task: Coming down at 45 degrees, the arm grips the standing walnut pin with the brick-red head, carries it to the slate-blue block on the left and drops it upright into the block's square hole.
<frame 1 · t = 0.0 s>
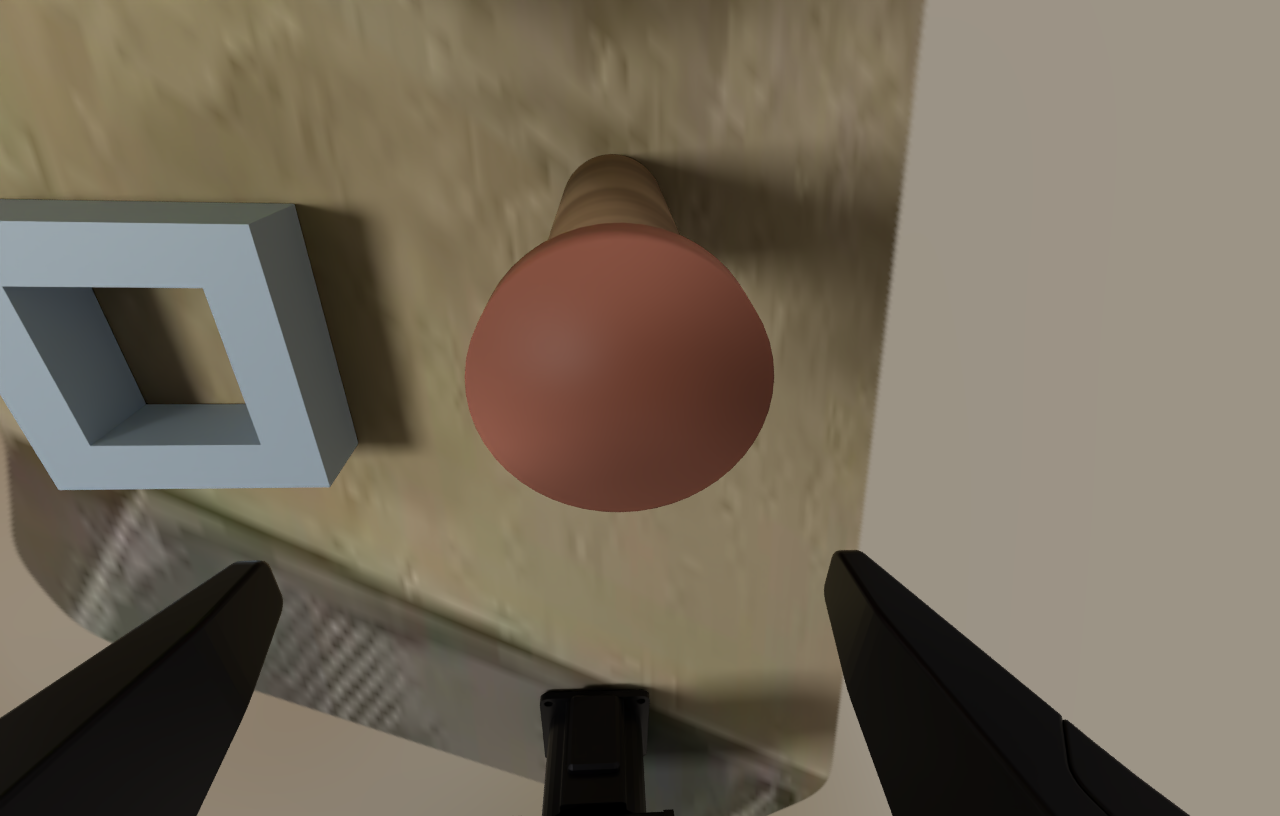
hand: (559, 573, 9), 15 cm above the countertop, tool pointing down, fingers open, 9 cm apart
hole block: (196, 336, 22), on the countertop
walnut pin: (612, 208, 21), on the countertop
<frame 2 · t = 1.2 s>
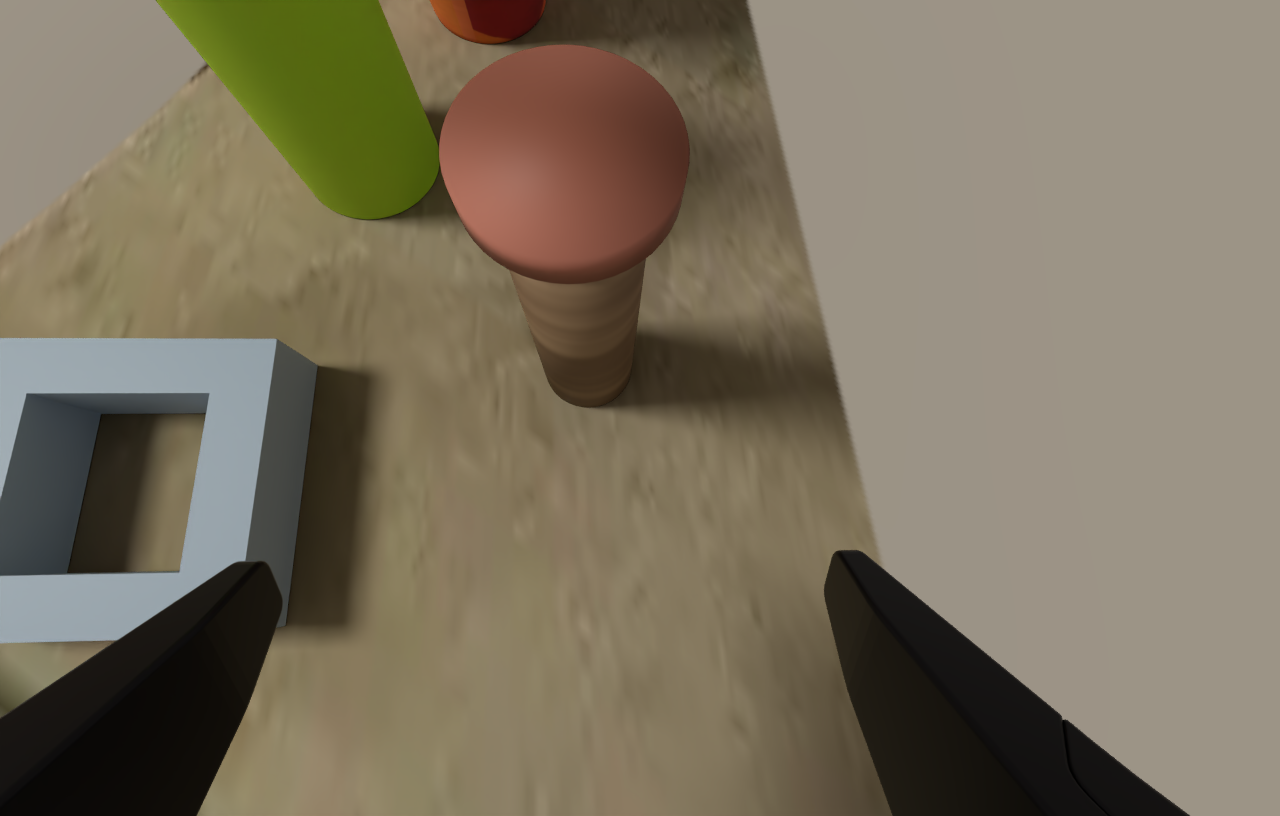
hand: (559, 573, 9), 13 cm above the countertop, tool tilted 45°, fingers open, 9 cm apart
soap dispenser: (368, 156, 26), on the countertop
hole block: (167, 489, 22), on the countertop
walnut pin: (588, 365, 24), on the countertop
paper cup: (489, 1, 29), on the countertop
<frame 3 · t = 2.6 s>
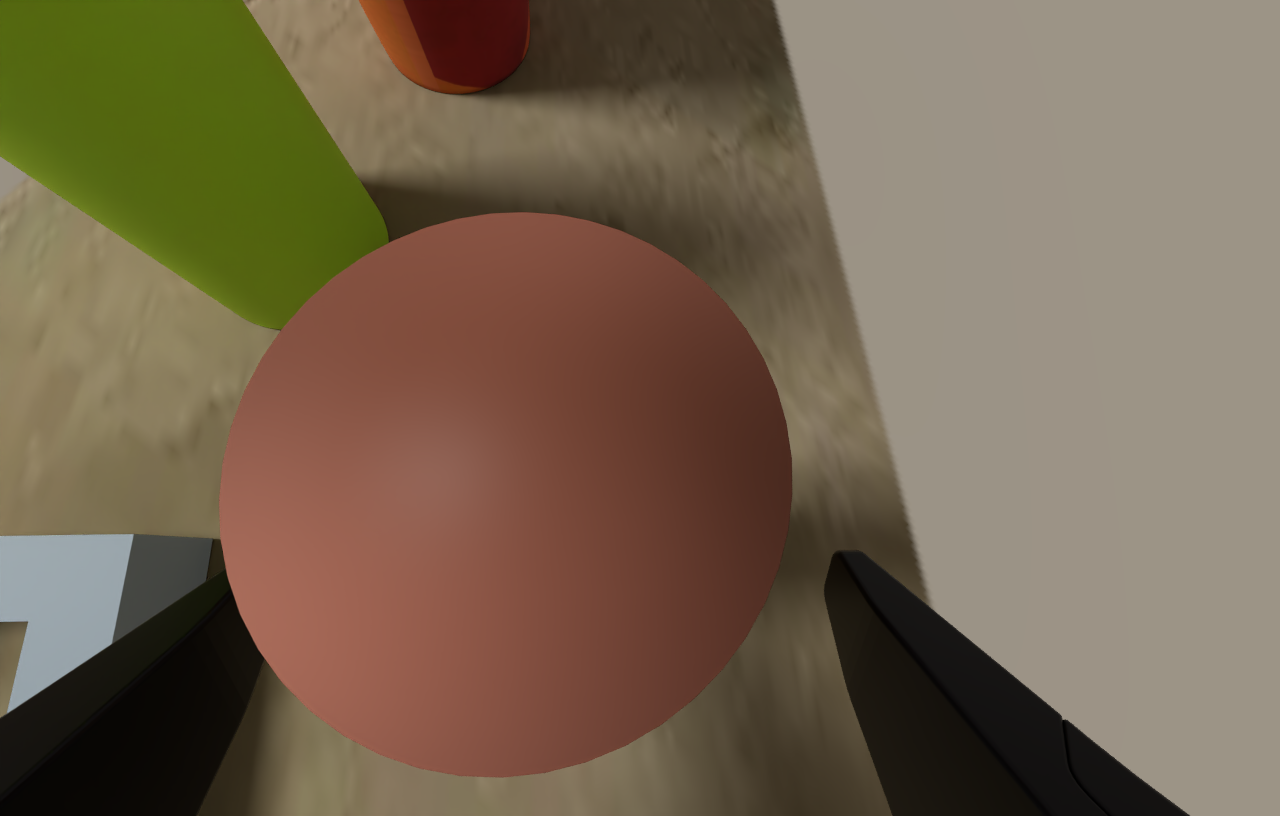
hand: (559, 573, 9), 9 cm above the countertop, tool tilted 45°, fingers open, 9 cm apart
soap dispenser: (295, 243, 20), on the countertop
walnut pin: (582, 533, 18), on the countertop
paper cup: (458, 39, 23), on the countertop
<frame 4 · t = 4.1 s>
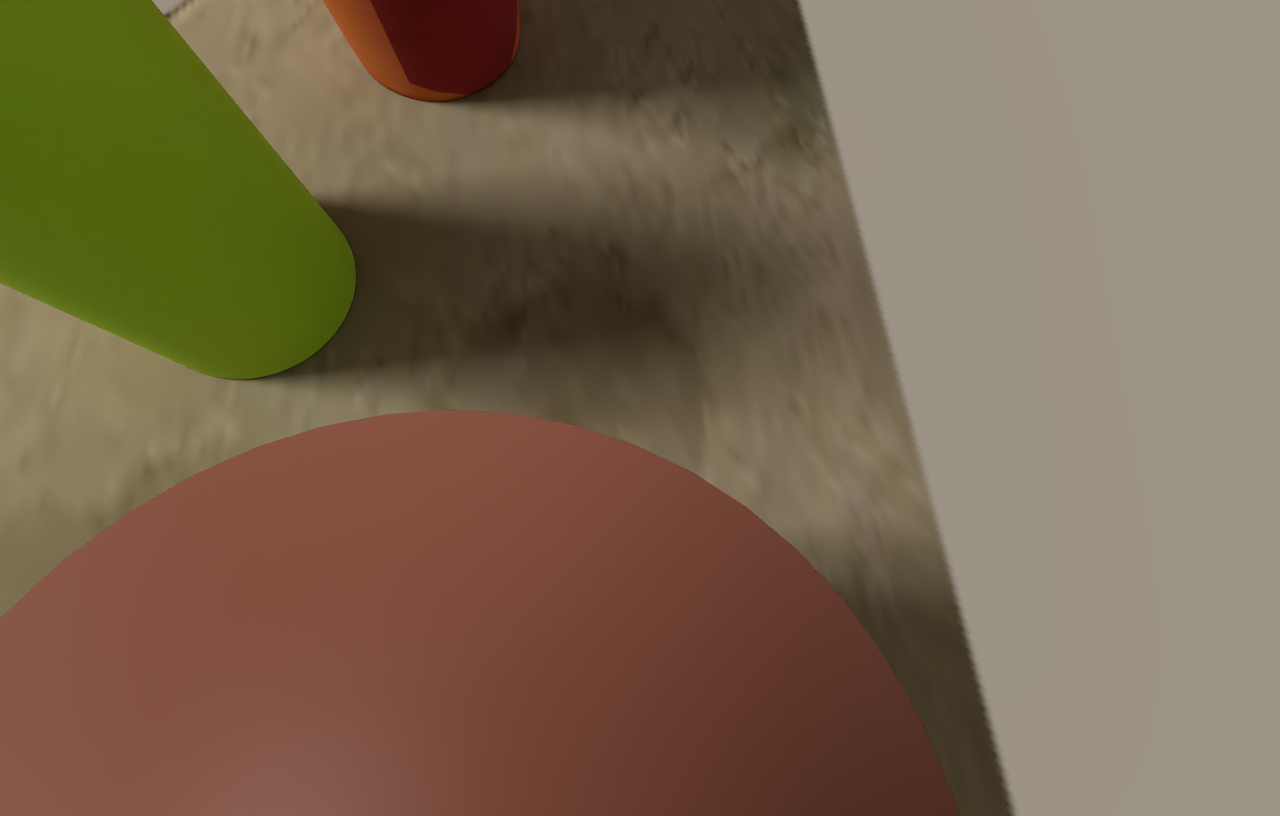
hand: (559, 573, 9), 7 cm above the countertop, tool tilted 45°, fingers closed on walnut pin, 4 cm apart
soap dispenser: (248, 276, 17), on the countertop
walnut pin: (578, 620, 15), on the countertop, touching gripper
paper cup: (438, 38, 20), on the countertop
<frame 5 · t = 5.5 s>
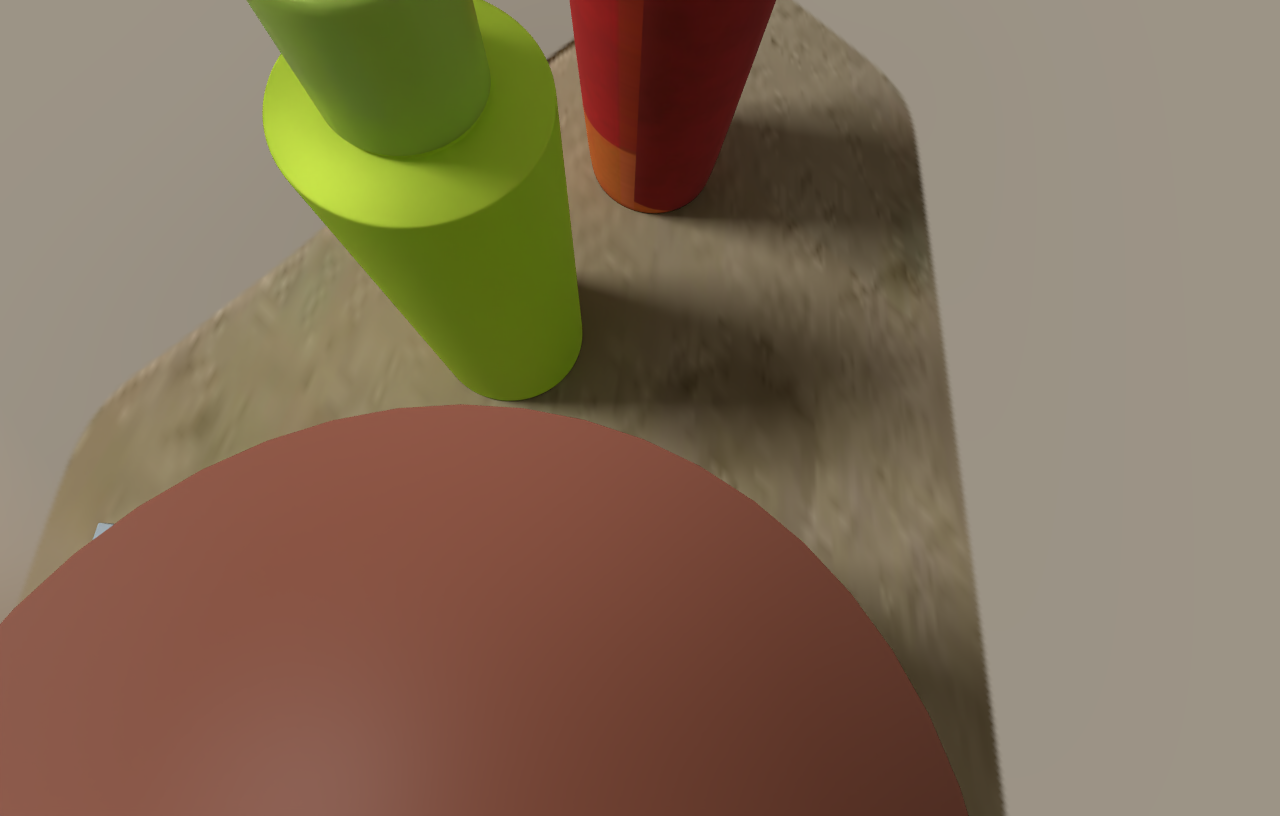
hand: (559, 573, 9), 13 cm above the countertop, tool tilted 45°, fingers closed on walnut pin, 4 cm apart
soap dispenser: (507, 325, 25), on the countertop
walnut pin: (580, 619, 15), point 7 cm above the countertop, touching gripper
paper cup: (650, 163, 27), on the countertop
when the fingers open (10 cm above the countertop, at t = 7.1 s): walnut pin drops 3 cm, resting in hole block.
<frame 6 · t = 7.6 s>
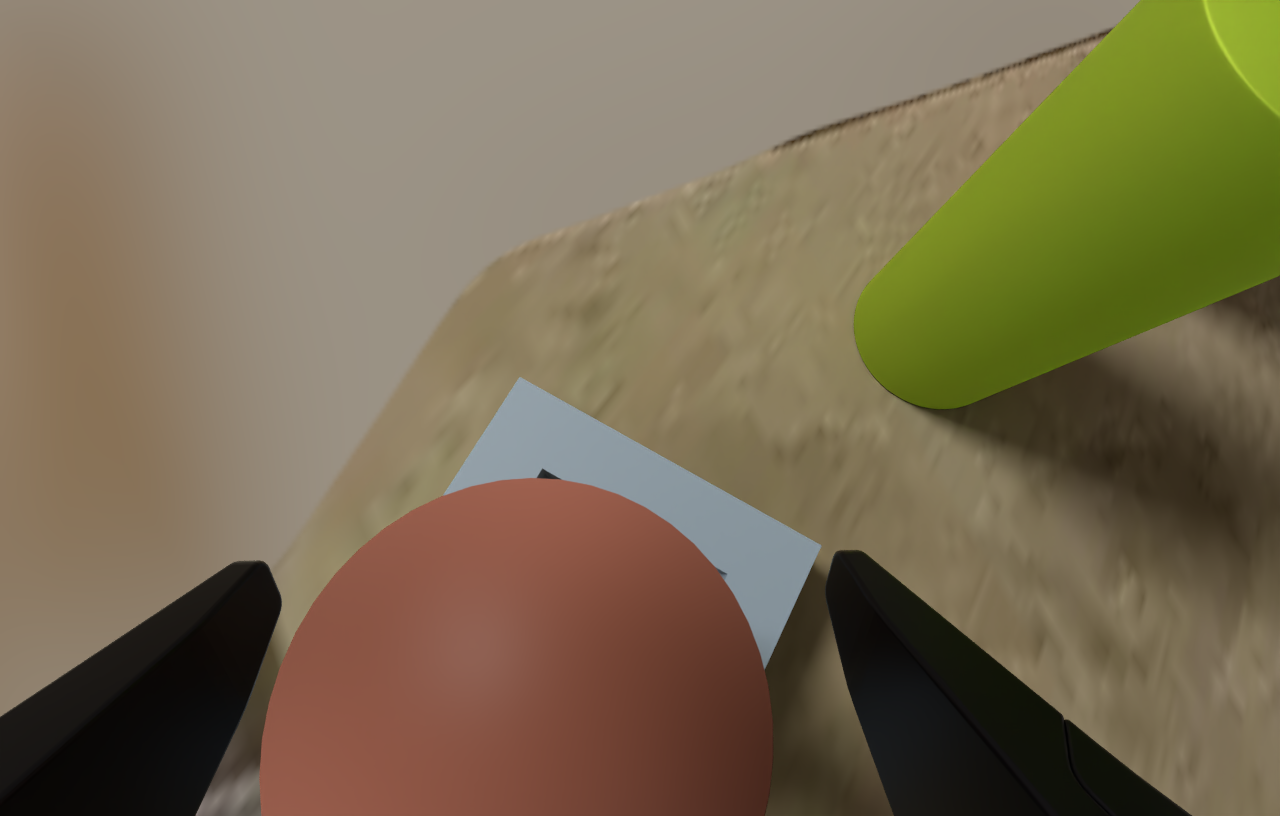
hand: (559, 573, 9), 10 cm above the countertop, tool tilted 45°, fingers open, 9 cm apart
soap dispenser: (923, 322, 22), on the countertop
hole block: (583, 609, 19), on the countertop
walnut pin: (582, 607, 19), resting in hole block
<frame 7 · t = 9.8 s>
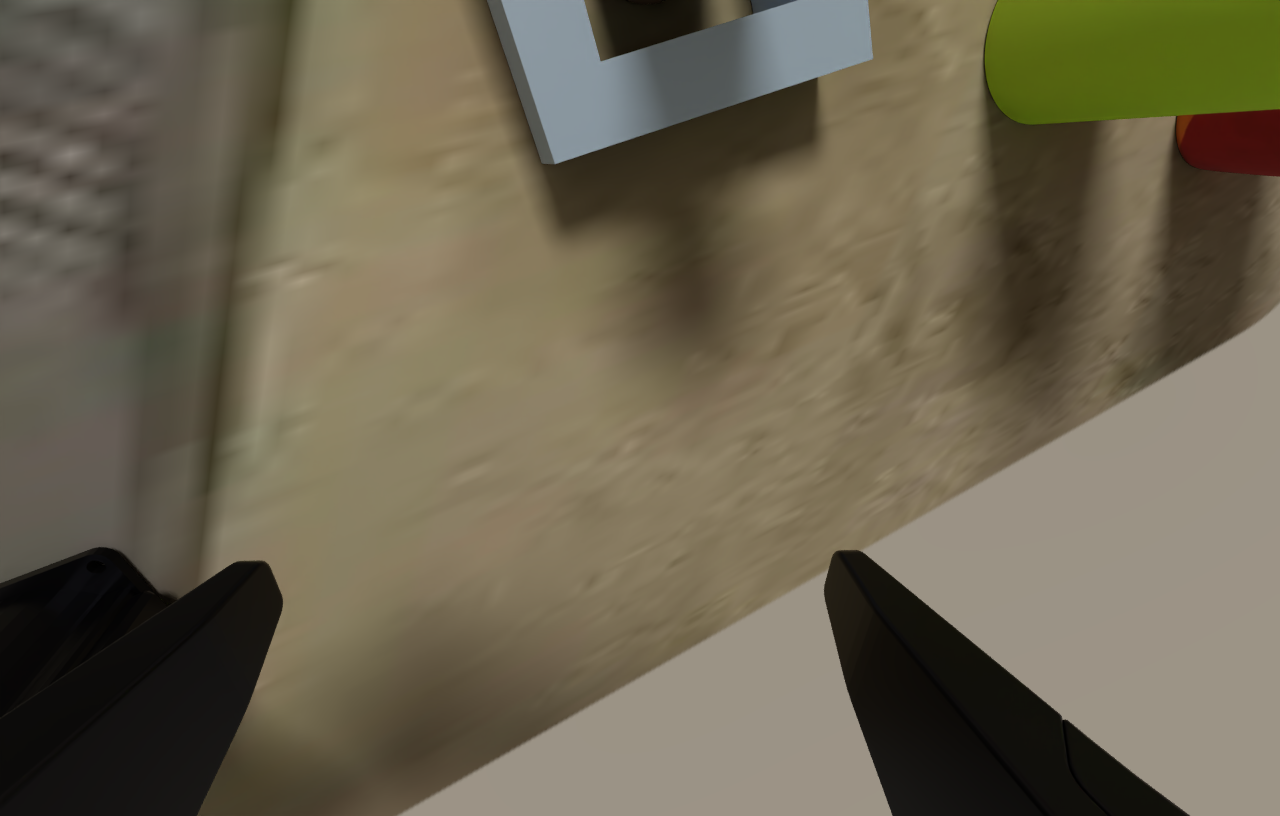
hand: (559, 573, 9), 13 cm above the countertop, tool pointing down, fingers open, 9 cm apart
soap dispenser: (1054, 24, 22), on the countertop
paper cup: (1223, 98, 25), on the countertop
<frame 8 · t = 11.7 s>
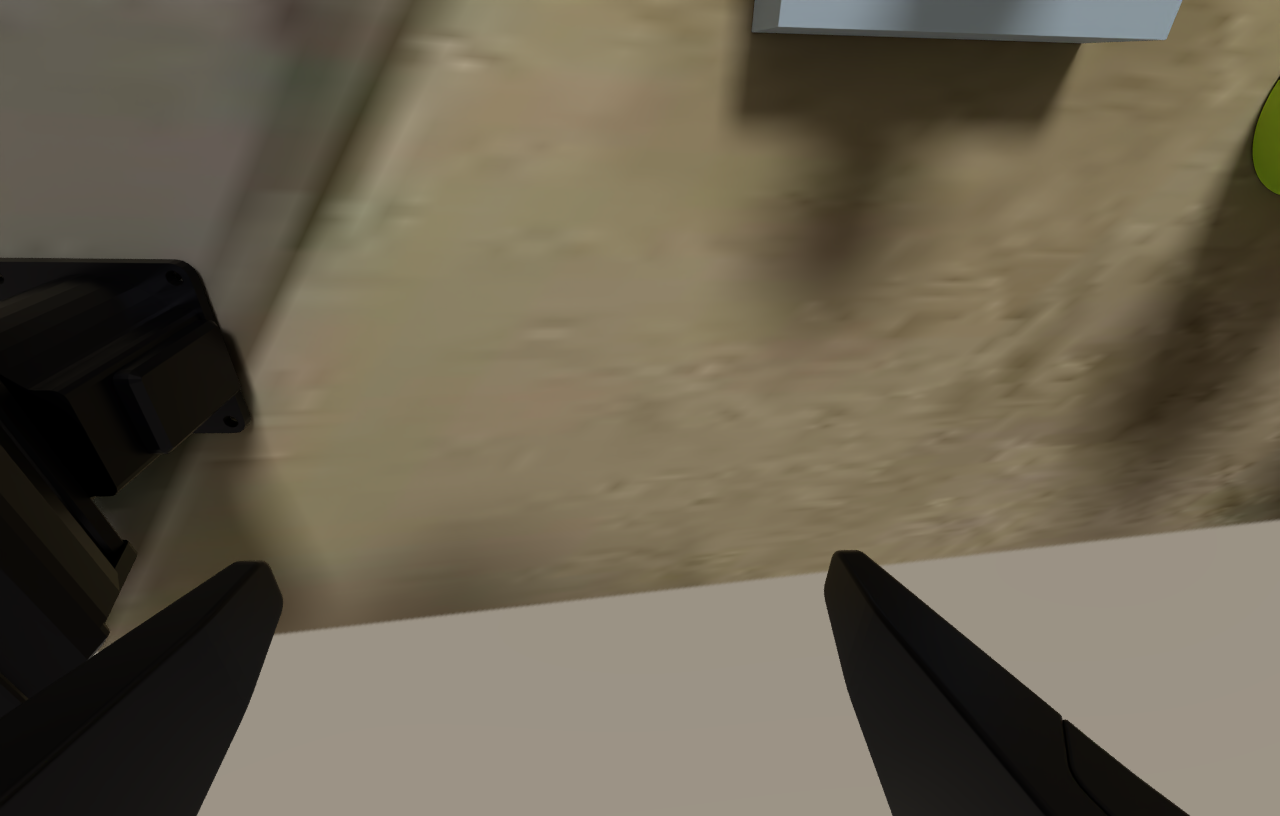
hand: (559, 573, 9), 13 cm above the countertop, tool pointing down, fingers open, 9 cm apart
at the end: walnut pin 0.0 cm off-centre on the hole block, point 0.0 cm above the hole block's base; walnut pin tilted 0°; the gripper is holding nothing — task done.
